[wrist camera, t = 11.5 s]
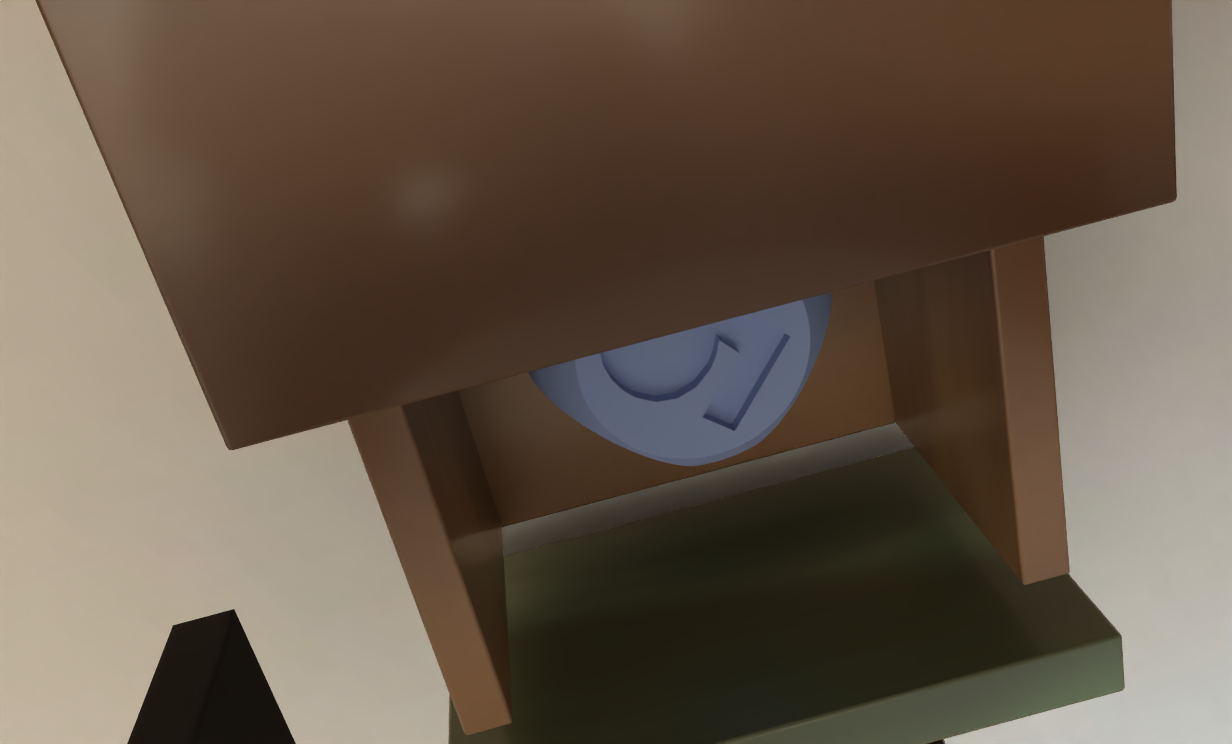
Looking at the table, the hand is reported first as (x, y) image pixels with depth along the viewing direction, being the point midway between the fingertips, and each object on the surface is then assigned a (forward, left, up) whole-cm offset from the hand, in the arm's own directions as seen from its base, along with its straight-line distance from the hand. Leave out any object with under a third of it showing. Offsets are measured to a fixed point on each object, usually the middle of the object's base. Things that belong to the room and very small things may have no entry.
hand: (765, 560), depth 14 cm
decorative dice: (0, +1, -9) cm, 9 cm away
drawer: (0, -2, -10) cm, 10 cm away
